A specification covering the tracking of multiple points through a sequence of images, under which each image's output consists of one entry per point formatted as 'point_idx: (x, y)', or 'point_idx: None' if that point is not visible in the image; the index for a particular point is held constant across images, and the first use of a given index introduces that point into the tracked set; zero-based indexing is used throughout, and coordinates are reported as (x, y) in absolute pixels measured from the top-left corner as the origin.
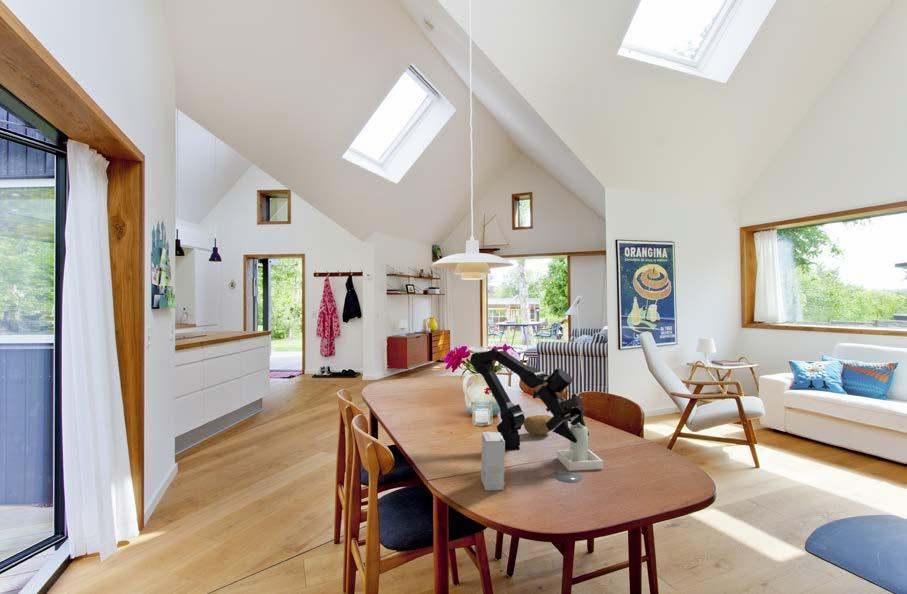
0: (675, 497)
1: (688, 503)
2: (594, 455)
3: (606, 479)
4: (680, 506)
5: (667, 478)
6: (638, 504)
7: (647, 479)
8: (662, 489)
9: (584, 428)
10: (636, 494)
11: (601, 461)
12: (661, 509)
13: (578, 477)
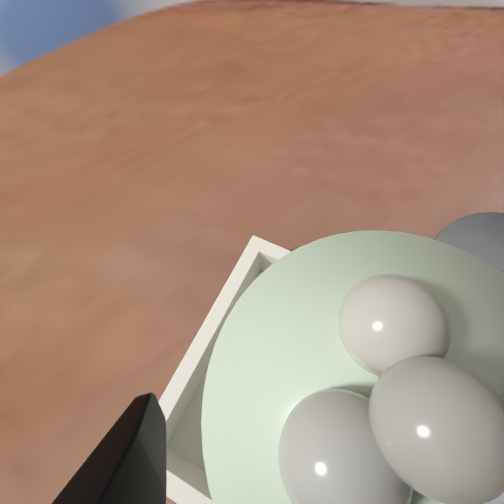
0: (247, 29)
1: (253, 4)
2: (214, 329)
3: (326, 190)
4: (289, 3)
5: (120, 99)
6: (386, 42)
7: (184, 122)
8: (225, 64)
9: (344, 280)
10: (333, 75)
11: (262, 240)
12: (350, 10)
13: (461, 245)
